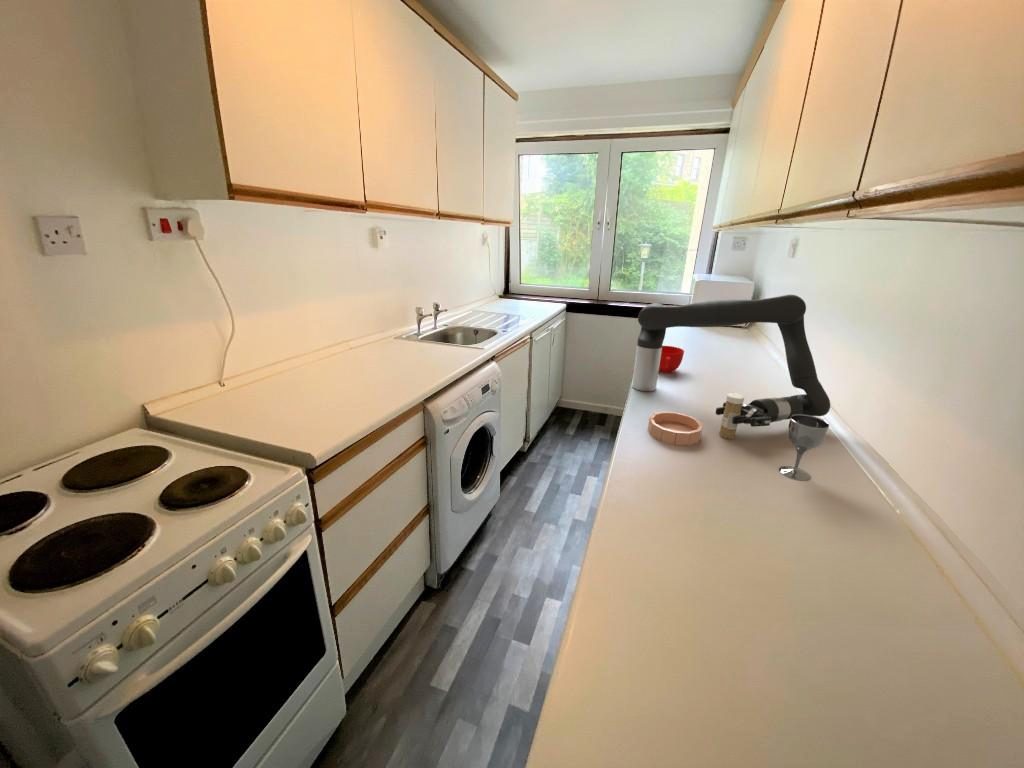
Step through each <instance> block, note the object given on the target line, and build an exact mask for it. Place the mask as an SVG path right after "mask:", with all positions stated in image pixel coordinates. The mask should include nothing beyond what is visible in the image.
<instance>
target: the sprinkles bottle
mask: <svg viewBox="0 0 1024 768" xmlns="http://www.w3.org/2000/svg"><path fill="white" fill-rule="evenodd" d="M744 400H745V396H744V395H742V394H740V393H735V392H729V393H727V395H726V399H725V402H726V406H725V410H724V414H722V418H721V419H722V420H721V424H720V429H719V432H718V435H719V436H720V437H721V438H724V439H730V440H731V439H732V440H733V439H734V438H736V432H737V428H738V425H739V424H733V423H732V420H733V417H735V416H740V411H741V407H742V405H743V404H744Z"/></svg>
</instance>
